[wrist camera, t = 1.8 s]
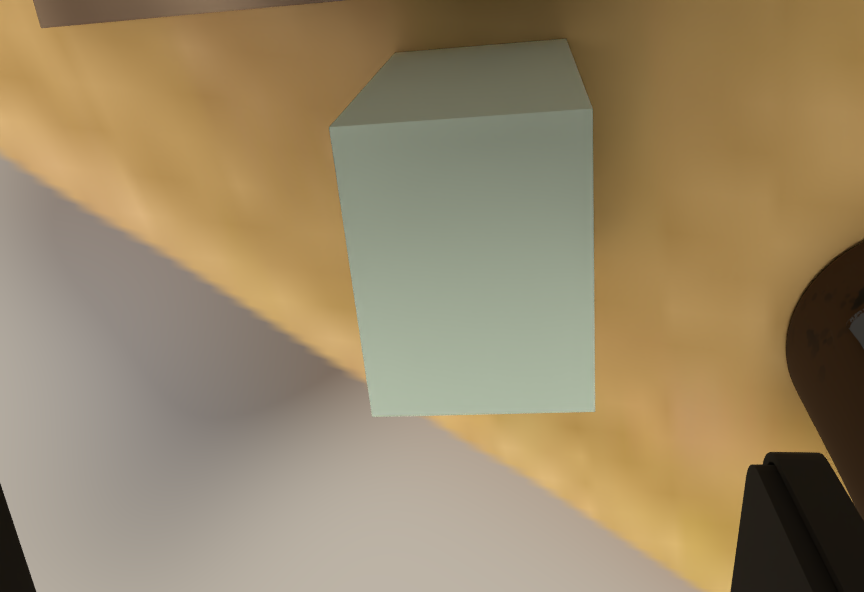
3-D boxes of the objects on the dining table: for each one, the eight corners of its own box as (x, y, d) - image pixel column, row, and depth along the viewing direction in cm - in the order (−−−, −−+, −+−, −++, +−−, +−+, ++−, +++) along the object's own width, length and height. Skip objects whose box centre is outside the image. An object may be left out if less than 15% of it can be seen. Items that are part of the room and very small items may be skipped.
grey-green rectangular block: (566, 38, 28) (592, 108, 18) (571, 271, 31) (595, 436, 21) (395, 52, 28) (329, 127, 18) (419, 278, 32) (375, 441, 22)
